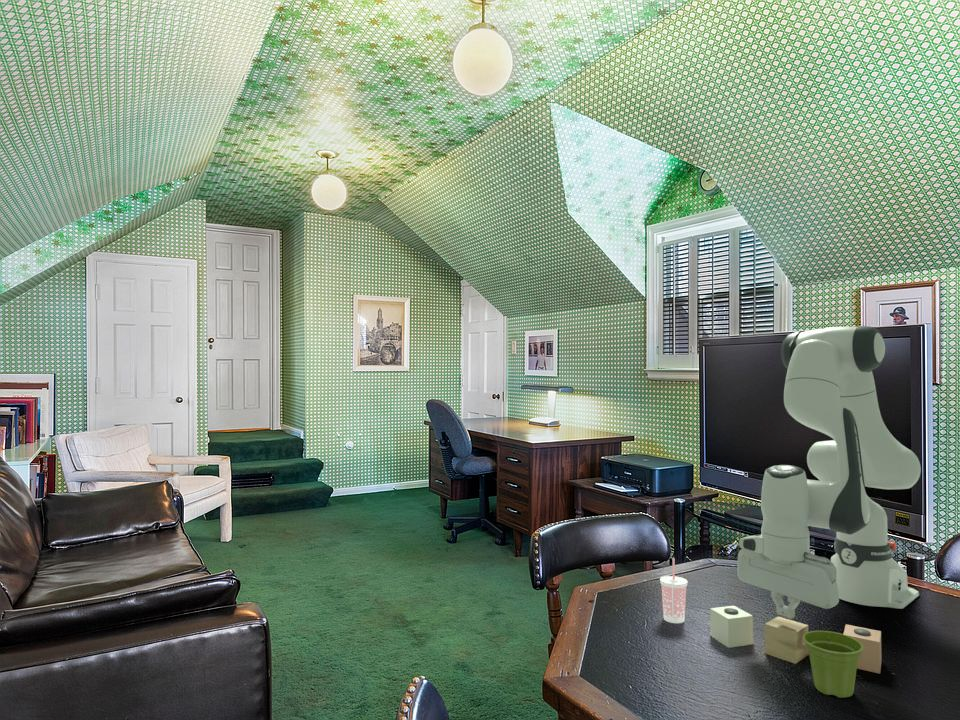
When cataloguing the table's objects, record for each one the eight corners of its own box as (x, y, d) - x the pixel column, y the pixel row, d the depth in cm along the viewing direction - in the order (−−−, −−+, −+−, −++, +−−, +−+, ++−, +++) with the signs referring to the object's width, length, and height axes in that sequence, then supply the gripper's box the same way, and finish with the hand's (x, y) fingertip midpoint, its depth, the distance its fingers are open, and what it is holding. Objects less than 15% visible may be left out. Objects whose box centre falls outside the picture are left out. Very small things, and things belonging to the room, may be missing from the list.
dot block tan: (846, 654, 127) (845, 622, 127) (881, 662, 123) (881, 629, 123) (843, 665, 122) (843, 633, 122) (880, 674, 118) (879, 640, 118)
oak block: (778, 645, 131) (778, 616, 131) (808, 655, 126) (808, 625, 126) (764, 653, 127) (764, 623, 127) (795, 664, 122) (795, 633, 122)
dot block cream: (734, 633, 137) (734, 604, 137) (753, 644, 131) (752, 614, 131) (710, 636, 135) (710, 606, 135) (728, 648, 129) (728, 617, 130)
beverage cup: (689, 616, 146) (689, 556, 146) (686, 626, 140) (685, 563, 140) (662, 612, 148) (661, 553, 149) (658, 621, 143) (657, 560, 143)
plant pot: (834, 707, 106) (833, 655, 107) (791, 681, 115) (791, 633, 116) (877, 699, 109) (876, 648, 109) (832, 673, 118) (831, 627, 118)
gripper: (845, 558, 120) (846, 631, 119) (751, 534, 137) (751, 597, 137) (826, 562, 116) (826, 638, 116) (732, 537, 134) (732, 603, 134)
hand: (785, 616), depth 127 cm, fingers closed
